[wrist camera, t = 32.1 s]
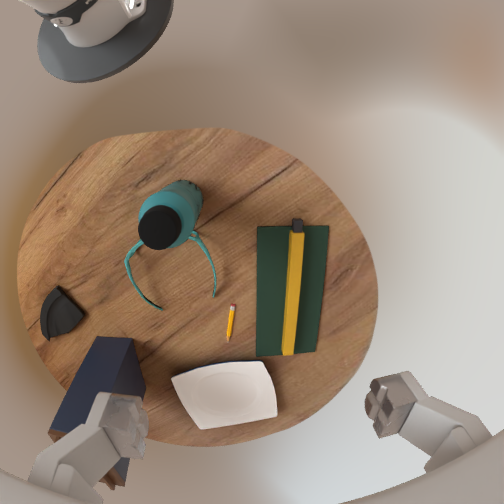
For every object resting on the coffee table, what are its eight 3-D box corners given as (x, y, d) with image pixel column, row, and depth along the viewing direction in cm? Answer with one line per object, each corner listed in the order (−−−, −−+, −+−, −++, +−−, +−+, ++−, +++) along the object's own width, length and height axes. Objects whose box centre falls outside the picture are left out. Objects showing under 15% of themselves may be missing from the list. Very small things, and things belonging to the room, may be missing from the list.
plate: (166, 366, 55) (164, 375, 53) (264, 347, 56) (265, 356, 53) (198, 423, 62) (197, 432, 60) (280, 409, 63) (282, 417, 60)
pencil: (235, 303, 52) (235, 305, 51) (229, 341, 55) (229, 343, 54) (231, 302, 52) (231, 304, 51) (225, 341, 55) (225, 343, 54)
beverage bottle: (166, 220, 46) (130, 268, 27) (162, 179, 43) (118, 201, 25) (207, 216, 46) (195, 263, 27) (203, 175, 44) (187, 192, 25)
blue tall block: (96, 336, 52) (44, 439, 26) (132, 337, 52) (91, 451, 27) (113, 385, 56) (82, 483, 31) (146, 387, 57) (123, 492, 31)
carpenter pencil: (290, 217, 47) (292, 220, 45) (302, 218, 47) (305, 220, 45) (281, 349, 56) (283, 355, 54) (291, 348, 56) (293, 355, 54)
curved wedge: (31, 316, 49) (28, 319, 47) (59, 282, 47) (55, 286, 46) (56, 343, 52) (53, 347, 50) (87, 314, 50) (84, 318, 48)
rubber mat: (257, 226, 47) (257, 227, 47) (328, 225, 48) (329, 226, 48) (256, 355, 56) (256, 356, 56) (314, 350, 57) (315, 351, 57)
